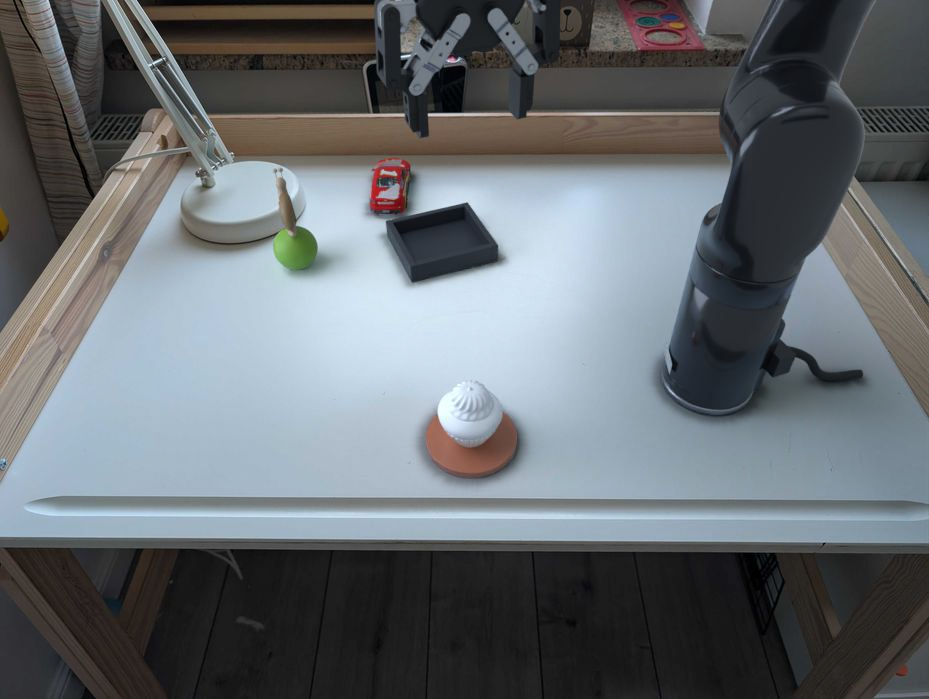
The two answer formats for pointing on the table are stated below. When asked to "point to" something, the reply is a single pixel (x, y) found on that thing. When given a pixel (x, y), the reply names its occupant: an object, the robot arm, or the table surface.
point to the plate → (471, 450)
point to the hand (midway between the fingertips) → (470, 124)
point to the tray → (441, 241)
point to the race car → (390, 186)
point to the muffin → (470, 413)
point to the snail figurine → (292, 234)
